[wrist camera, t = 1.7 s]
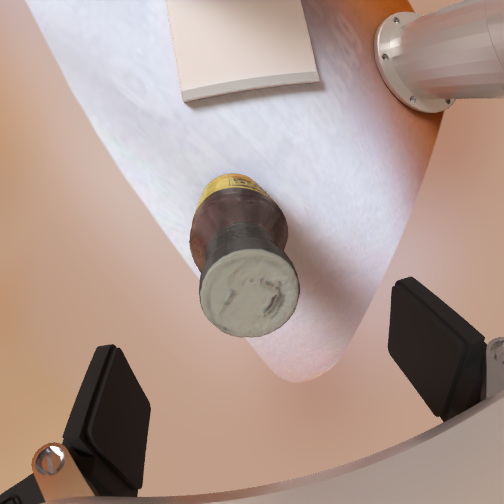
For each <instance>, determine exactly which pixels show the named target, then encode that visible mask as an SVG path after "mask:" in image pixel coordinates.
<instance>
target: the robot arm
mask: <svg viewBox="0 0 504 504" xmlns="http://www.w3.org/2000/svg"><path fill="white" fill-rule="evenodd" d="M374 54H375V60H376V63H377V66H378V69H379V72H380V74H381V76H382V78H383V80H384V82H385V83H386V85H387V86H388V88H389V89H390V91H391V92H392V93H393V94H394V95H395V96H396V97H397V98H398V99H399V100H400V101H401V102H402V103H404V104H405V105H407V106H408V107H410V108H412V109H414V110H417V111H420V112H425V113H437V112H441V111H444V110H445V109H447V108H449V107H450V106H451V105H452V104H453V103H454V101H455V100H456V99H460V98H499V99H502V98H503V99H504V0H464V1H462V2H459V3H456V4H453V5H451V6H448V7H445V8H442V9H440V10H437V11H434V12H432V13H429V14H427V15H425V16H422V15H419V14H416V13H413V12H399V13H396V14H393V15H391V16H389V17H388V18H386V19H385V20H384V21H383V22H382V23H381V24H380V25H379V27H378V29H377V31H376V34H375V39H374ZM484 339H485V337H484V336H483V335H482V334H481V333H479V332H478V331H477V330H476V329H475V328H474V327H473V326H472V325H470V324H469V323H468V322H467V321H466V320H464V319H463V318H462V317H461V316H460V315H459V314H458V313H456V312H455V311H454V310H453V309H452V308H450V307H449V306H448V305H447V304H445V303H444V302H443V301H442V300H441V299H440V298H438V297H437V296H436V295H434V294H433V293H432V292H431V291H430V290H428V289H427V288H426V287H425V286H423V285H422V284H421V283H420V282H418V281H417V280H416V279H414V278H413V277H408V278H404V279H401V280H398V281H397V282H396V283H395V286H393V287H392V294H391V312H390V327H389V339H388V351H389V353H390V355H391V357H392V358H393V359H394V361H395V362H396V363H397V365H398V366H399V367H400V369H401V370H402V371H403V373H404V374H405V375H406V377H407V378H408V379H409V381H410V382H411V383H412V385H413V386H414V388H415V389H416V390H417V392H418V393H419V394H420V396H421V397H422V399H423V400H424V401H425V403H426V404H427V405H428V407H429V408H430V409H431V411H432V412H433V414H434V415H435V416H436V417H439V416H440V417H441V419H442V420H443V422H444V423H442V424H440V425H438V426H436V427H434V428H432V429H430V430H428V431H426V432H424V433H422V434H420V435H418V436H415V437H413V438H411V439H409V440H407V441H405V442H402V443H400V444H398V445H395V446H393V447H390V448H388V449H385V450H383V451H380V452H378V453H375V454H373V455H370V456H368V457H365V458H362V459H359V460H357V461H354V462H351V463H348V464H344V465H341V466H338V467H335V468H332V469H329V470H325V471H322V472H318V473H315V474H311V475H307V476H304V477H300V478H296V479H292V480H287V481H283V482H278V483H273V484H269V485H263V486H258V487H253V488H247V489H241V490H234V491H226V492H219V493H210V494H199V495H186V496H167V497H137V494H138V489H141V488H142V483H143V471H144V462H145V451H146V444H147V435H148V427H149V420H150V412H151V407H150V403H149V401H148V399H147V397H146V396H145V394H144V392H143V390H142V388H141V386H140V385H139V383H138V381H137V379H136V377H135V375H134V373H133V372H132V370H131V368H130V366H129V364H128V362H127V360H126V358H125V356H124V354H123V352H122V350H121V349H120V348H116V346H115V345H113V344H112V345H105V346H99V347H97V349H96V351H95V353H94V355H93V358H92V360H91V362H90V365H89V367H88V370H87V372H86V375H85V377H84V380H83V382H82V385H81V387H80V390H79V392H78V395H77V398H76V401H75V403H74V406H73V408H72V411H71V414H70V417H69V419H68V422H67V425H66V428H65V431H64V434H63V438H64V440H63V443H62V444H60V443H55V442H54V443H48V444H46V445H44V446H42V447H41V448H40V449H38V451H37V452H36V453H35V454H34V457H33V459H32V470H33V474H31V475H30V476H28V477H27V478H25V479H24V480H22V481H21V482H19V483H18V484H16V485H14V486H13V487H11V488H10V489H8V490H7V491H5V492H4V493H2V494H1V495H0V504H504V337H498V338H495V339H493V340H491V341H490V342H489V343H488V345H487V344H486V343H485V342H484Z"/></svg>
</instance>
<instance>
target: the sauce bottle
mask: <svg viewBox="0 0 504 504" xmlns="http://www.w3.org/2000/svg"><path fill="white" fill-rule="evenodd" d="M287 238H288V227H287V223H286V219H285V217H284V215H283V213H282V211H281V209H280V208H279V207H278V206H277V204H276V203H275V202H274V201H273V200H272V199H271V198H270V197H269V196H268V195H267V193H266V192H265V191H264V190H263V189H262V188H261V187H260V186H259V185H258V184H257V183H256V182H255V181H254V180H252V179H251V178H249V177H247V176H244V175H241V174H225V175H222V176H219V177H217V178H216V179H214V180H213V181H211V182H210V183H209V184H208V185H207V186H206V188H205V189H204V190H203V193H202V195H201V198H200V200H199V203H198V206H197V209H196V212H195V214H194V217H193V221H192V228H191V232H190V241H189V243H190V250H191V253H192V257H193V259H194V262H195V264H196V266H197V267H198V269H199V271H200V272H201V277H200V286H199V295H200V303H201V306H202V309H203V311H204V314H205V316H206V317H207V318H208V320H209V321H210V322H211V323H213V324H214V325H215V326H216V327H217V328H219V329H220V330H221V331H222V332H224V333H226V334H229V335H232V336H236V337H261V336H264V335H266V334H269V333H271V332H273V331H275V330H277V329H278V328H280V327H281V326H282V325H283V324H285V323H286V322H287V321H288V320H289V319H290V317H291V316H292V315H293V313H294V311H295V309H296V305H297V303H298V298H299V294H300V284H299V281H298V276H297V273H296V271H295V268H294V266H293V264H292V262H291V260H290V259H289V257H288V256H287V254H286V253H285V252H284V248H285V245H286V242H287Z"/></svg>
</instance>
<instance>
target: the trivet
mask: <svg viewBox="0 0 504 504" xmlns="http://www.w3.org/2000/svg"><path fill="white" fill-rule="evenodd" d="M165 1H166V7H167V13H168V20H169V26H170V32H171V38H172V44H173V49H174V55H175V61H176V66H177V72H178V77H179V83H180V88H181V95H182V100H183V102H189V101H193V100H198V99H203V98H207V97H213V96H218V95H223V94H229V93H234V92H240V91H247V90H253V89H260V88H267V87H275V86H284V85H293V84H304V83H316V82H318V81H320V80H319V75H318V71H317V70H316V65H315V60H314V55H313V51H312V46H311V42H310V37H309V33H308V29H307V24H306V20H305V16H304V12H303V8H302V4H301V1H300V0H165Z"/></svg>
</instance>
